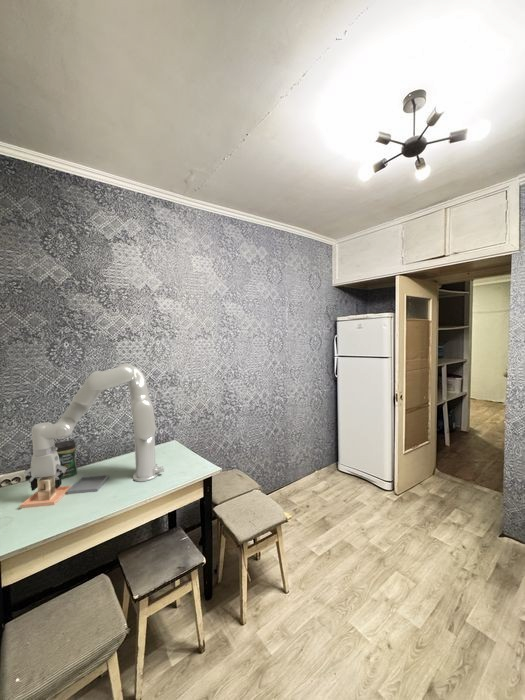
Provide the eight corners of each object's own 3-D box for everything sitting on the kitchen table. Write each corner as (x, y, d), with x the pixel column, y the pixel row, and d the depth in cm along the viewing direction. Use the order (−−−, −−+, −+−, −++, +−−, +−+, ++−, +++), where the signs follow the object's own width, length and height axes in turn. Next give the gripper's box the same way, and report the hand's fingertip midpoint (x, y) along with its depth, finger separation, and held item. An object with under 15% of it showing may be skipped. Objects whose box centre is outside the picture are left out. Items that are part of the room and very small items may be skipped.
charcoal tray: (109, 478, 142) (109, 474, 142) (97, 492, 129) (97, 488, 129) (81, 480, 140) (81, 476, 140) (66, 495, 127) (66, 491, 127)
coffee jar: (54, 482, 139) (52, 446, 138) (55, 476, 145) (53, 441, 144) (77, 476, 144) (75, 441, 143) (77, 470, 151) (75, 437, 150)
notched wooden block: (55, 494, 127) (54, 475, 126) (49, 500, 122) (48, 480, 122) (45, 495, 126) (44, 476, 126) (38, 501, 122) (37, 481, 121)
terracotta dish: (71, 489, 132) (70, 485, 132) (54, 506, 119) (54, 501, 119) (40, 492, 130) (40, 488, 130) (20, 509, 117) (20, 505, 117)
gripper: (69, 446, 128) (71, 481, 129) (28, 449, 126) (31, 485, 127) (60, 452, 121) (62, 490, 122) (16, 456, 118) (19, 494, 119)
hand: (46, 488), depth 124 cm, fingers open, 9 cm apart
